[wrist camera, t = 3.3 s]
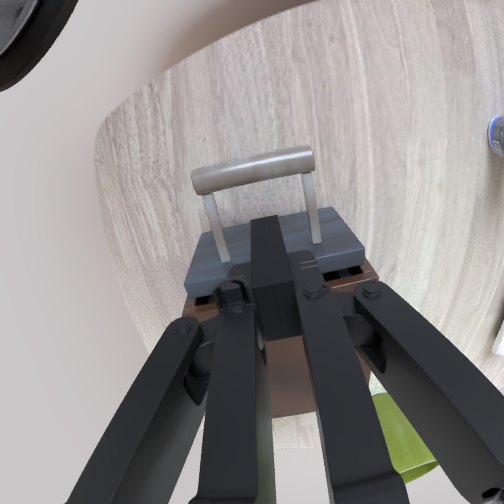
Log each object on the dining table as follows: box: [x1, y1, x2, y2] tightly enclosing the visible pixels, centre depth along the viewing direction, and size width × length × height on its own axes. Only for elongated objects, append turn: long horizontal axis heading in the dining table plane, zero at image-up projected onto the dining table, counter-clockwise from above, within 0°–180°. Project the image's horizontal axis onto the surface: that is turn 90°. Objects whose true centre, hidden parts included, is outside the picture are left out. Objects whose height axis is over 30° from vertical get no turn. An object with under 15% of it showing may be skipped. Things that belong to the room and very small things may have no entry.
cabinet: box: [182, 257, 379, 419], centre depth 24 cm, size 15×13×10 cm
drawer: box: [184, 145, 365, 304], centre depth 22 cm, size 20×11×8 cm, turn 13°
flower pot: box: [372, 393, 439, 484], centre depth 33 cm, size 15×15×16 cm
